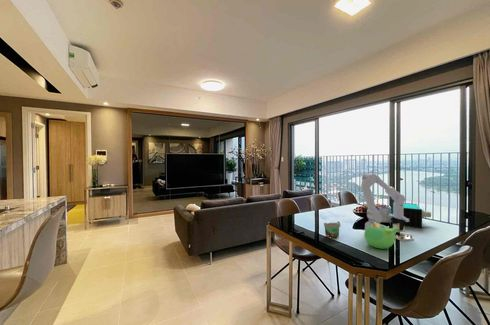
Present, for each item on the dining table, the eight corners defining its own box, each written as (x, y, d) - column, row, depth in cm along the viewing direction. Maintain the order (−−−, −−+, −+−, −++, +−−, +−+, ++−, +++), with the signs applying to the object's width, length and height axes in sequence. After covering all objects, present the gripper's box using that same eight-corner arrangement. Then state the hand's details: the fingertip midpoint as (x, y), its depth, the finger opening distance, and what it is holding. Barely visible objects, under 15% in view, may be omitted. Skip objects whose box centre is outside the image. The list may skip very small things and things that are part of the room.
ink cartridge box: (389, 221, 189) (388, 204, 189) (392, 222, 183) (391, 205, 183) (376, 220, 191) (376, 204, 191) (379, 222, 185) (379, 205, 185)
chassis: (401, 241, 142) (401, 237, 142) (393, 237, 148) (393, 234, 148) (414, 239, 144) (414, 236, 144) (405, 236, 150) (405, 233, 150)
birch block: (397, 232, 154) (397, 225, 154) (392, 230, 158) (392, 223, 158) (404, 231, 155) (404, 224, 155) (399, 229, 159) (399, 223, 159)
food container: (329, 239, 146) (329, 225, 146) (323, 236, 152) (323, 222, 152) (344, 237, 149) (344, 223, 149) (338, 234, 155) (338, 221, 155)
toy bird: (369, 240, 145) (368, 218, 145) (399, 246, 133) (399, 223, 133) (361, 248, 132) (360, 224, 132) (394, 256, 120) (393, 230, 120)
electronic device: (434, 230, 163) (434, 210, 163) (394, 225, 176) (394, 207, 176) (427, 222, 185) (427, 204, 185) (392, 218, 198) (392, 202, 198)
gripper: (412, 212, 150) (412, 231, 150) (394, 208, 164) (394, 225, 164) (404, 213, 149) (404, 232, 149) (386, 208, 163) (386, 226, 163)
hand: (398, 229), depth 156 cm, fingers closed on birch block, 4 cm apart
